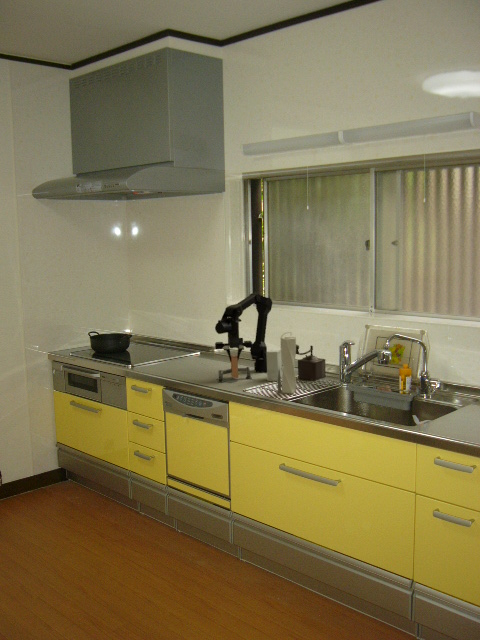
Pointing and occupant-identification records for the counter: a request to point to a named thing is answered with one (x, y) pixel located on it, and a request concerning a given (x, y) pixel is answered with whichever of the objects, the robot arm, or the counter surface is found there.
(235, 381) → the pad
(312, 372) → the brown coffee grinder
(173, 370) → the counter surface
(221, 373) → the gray arch
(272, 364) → the skincare box
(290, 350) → the skyscraper
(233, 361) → the orange rectangular frame
